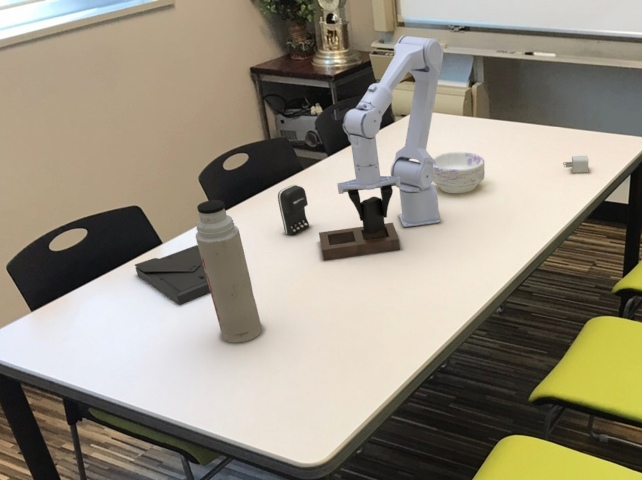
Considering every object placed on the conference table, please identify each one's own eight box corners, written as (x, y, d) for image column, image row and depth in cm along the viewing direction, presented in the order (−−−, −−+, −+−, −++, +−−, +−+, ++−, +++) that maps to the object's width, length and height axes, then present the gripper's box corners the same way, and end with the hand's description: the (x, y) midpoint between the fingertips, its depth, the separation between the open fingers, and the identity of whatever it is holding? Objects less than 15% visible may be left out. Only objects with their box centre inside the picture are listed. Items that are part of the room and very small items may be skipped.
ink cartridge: (379, 226, 195) (375, 195, 191) (385, 228, 194) (381, 197, 190) (363, 232, 193) (359, 201, 188) (369, 235, 191) (365, 203, 187)
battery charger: (294, 237, 200) (286, 194, 194) (283, 234, 202) (275, 191, 196) (314, 227, 205) (306, 184, 198) (303, 224, 207) (295, 182, 200)
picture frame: (137, 275, 186) (179, 304, 174) (134, 264, 185) (176, 293, 172) (199, 252, 195) (243, 279, 183) (196, 242, 194) (240, 268, 181)
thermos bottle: (218, 344, 160) (183, 214, 144) (225, 323, 166) (192, 197, 150) (258, 341, 160) (227, 211, 144) (264, 320, 167) (235, 194, 151)
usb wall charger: (587, 173, 228) (588, 159, 226) (563, 174, 229) (564, 160, 226) (586, 168, 232) (587, 154, 229) (562, 169, 232) (563, 155, 230)
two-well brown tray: (393, 232, 200) (392, 222, 199) (400, 249, 192) (399, 239, 191) (320, 242, 197) (318, 232, 196) (323, 260, 189) (321, 249, 187)
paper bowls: (495, 183, 225) (494, 155, 220) (465, 202, 215) (464, 173, 210) (451, 174, 232) (449, 147, 227) (420, 192, 222) (417, 164, 217)
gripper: (336, 172, 179) (344, 228, 187) (399, 164, 182) (405, 220, 189) (333, 162, 185) (341, 216, 193) (395, 154, 187) (400, 208, 195)
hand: (373, 217), depth 191 cm, fingers closed on ink cartridge, 5 cm apart
